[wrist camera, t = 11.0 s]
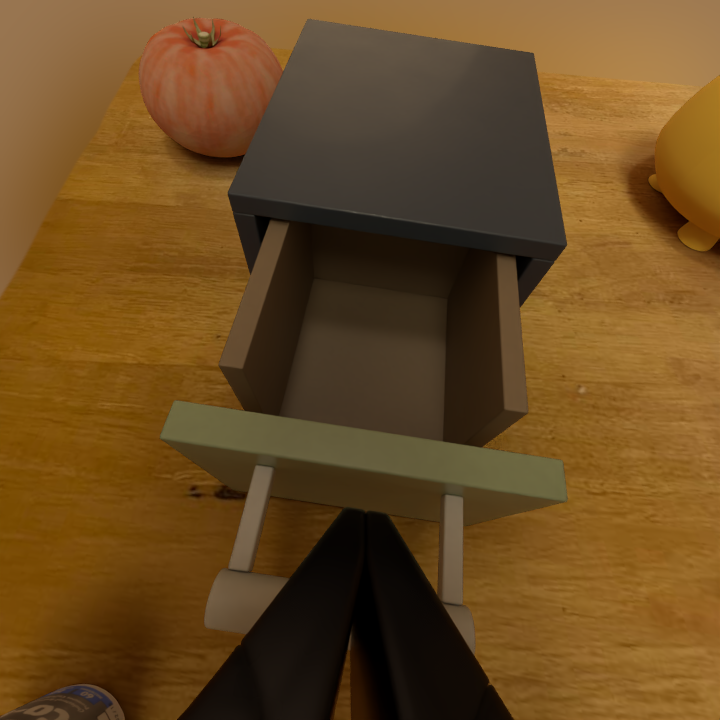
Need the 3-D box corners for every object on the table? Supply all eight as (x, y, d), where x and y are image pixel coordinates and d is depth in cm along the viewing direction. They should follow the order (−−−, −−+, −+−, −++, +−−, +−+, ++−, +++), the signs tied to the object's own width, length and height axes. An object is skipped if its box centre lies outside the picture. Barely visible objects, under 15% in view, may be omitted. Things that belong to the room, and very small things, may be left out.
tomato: (174, 102, 34) (134, -15, 27) (292, 106, 35) (283, -5, 28) (151, 180, 29) (95, 61, 22) (291, 182, 30) (279, 69, 23)
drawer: (466, 633, 16) (594, 704, 8) (202, 592, 16) (82, 624, 8) (466, 303, 25) (530, 184, 17) (293, 276, 25) (275, 145, 17)
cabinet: (471, 372, 23) (568, 245, 14) (268, 341, 23) (226, 192, 14) (470, 211, 30) (534, 52, 21) (314, 187, 30) (307, 17, 21)
